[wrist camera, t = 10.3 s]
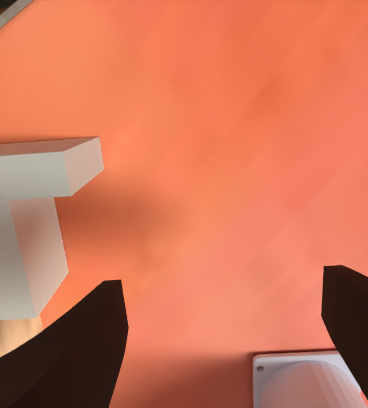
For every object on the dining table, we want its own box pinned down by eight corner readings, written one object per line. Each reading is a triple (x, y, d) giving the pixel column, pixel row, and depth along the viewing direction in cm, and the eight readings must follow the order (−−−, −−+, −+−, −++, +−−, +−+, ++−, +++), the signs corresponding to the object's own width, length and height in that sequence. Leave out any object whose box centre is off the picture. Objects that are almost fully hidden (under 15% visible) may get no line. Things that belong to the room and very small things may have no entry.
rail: (64, 411, 27) (37, 479, 22) (22, 413, 27) (-14, 481, 22) (23, 243, 22) (-22, 282, 18) (-27, 246, 22) (-86, 286, 18)
